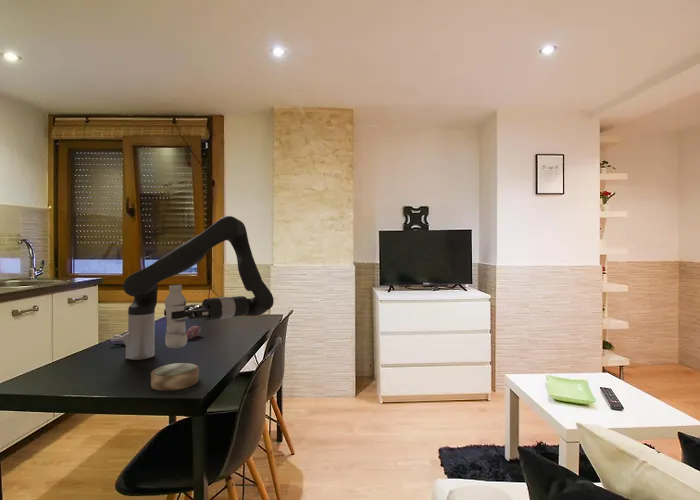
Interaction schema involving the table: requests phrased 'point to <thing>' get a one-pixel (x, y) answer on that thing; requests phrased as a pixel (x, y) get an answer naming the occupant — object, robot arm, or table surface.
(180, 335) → the plastic bottle
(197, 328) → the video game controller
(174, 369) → the wooden stand
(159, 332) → the table surface
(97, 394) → the table surface
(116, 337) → the bunny figurine
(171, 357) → the table surface
